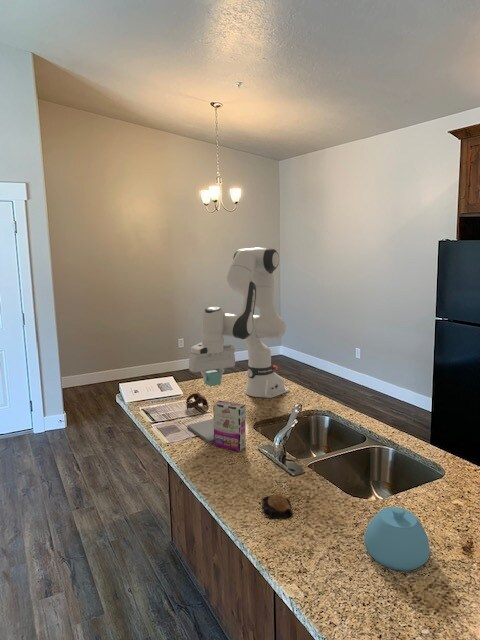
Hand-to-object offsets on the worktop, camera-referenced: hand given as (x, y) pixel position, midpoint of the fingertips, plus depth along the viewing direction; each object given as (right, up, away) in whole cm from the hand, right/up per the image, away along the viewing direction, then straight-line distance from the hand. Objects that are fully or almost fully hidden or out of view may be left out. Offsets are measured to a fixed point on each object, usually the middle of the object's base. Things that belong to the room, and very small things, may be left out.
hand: (212, 379), depth 190 cm
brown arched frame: (-8, -16, +19) cm, 26 cm away
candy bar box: (+8, -22, -20) cm, 31 cm away
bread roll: (+22, -30, -59) cm, 69 cm away
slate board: (+1, -20, -6) cm, 21 cm away
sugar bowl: (+49, -32, -78) cm, 97 cm away
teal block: (0, -2, 0) cm, 2 cm away
